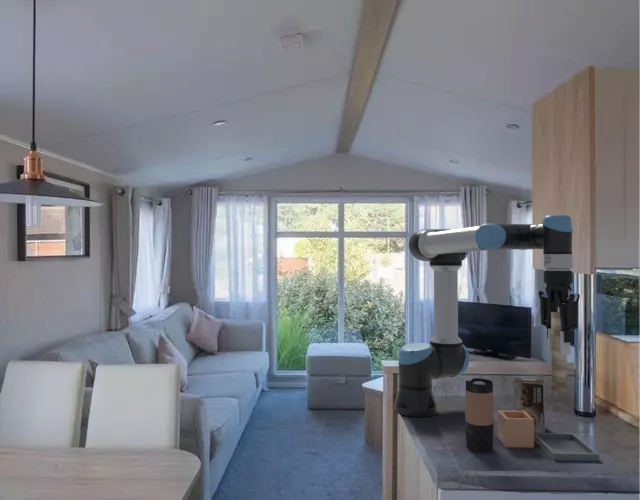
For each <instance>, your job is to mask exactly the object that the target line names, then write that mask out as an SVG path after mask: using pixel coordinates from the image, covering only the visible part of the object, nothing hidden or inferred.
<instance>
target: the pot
mask: <svg viewBox="0 0 640 500" xmlns="http://www.w3.org/2000/svg"><path fill="white" fill-rule="evenodd" d="M534 433H535V432H534V419H533V418H532V417H531V416H530V415H529V414H528V413H527V412H525V411H514V410H501V409H500V410H499V409H498V410H497V438H498V440H499V441H500V442H501V443H502V445H503V446H504V447H505V448H535V441H534Z"/></svg>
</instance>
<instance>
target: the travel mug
mask: <svg viewBox="0 0 640 500" xmlns="http://www.w3.org/2000/svg"><path fill="white" fill-rule="evenodd" d="M464 418H465V441H466V442H465V445H466V446H465V447H466V449H467V450H468V451H471V452H474V453H479V454H487V453H488V454H489V453H491V452H493V450H494V449H493V447H494V382H493V381H492V380H491V379H486V378H480V377H479V378H477V377H475V378H471V380H467V379H465V417H464Z"/></svg>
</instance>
